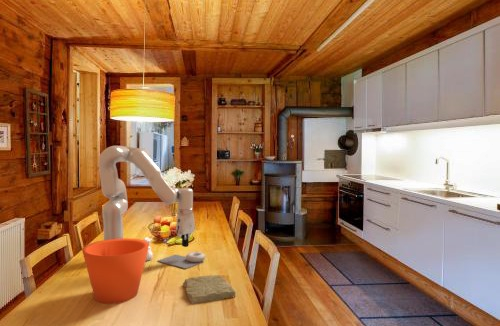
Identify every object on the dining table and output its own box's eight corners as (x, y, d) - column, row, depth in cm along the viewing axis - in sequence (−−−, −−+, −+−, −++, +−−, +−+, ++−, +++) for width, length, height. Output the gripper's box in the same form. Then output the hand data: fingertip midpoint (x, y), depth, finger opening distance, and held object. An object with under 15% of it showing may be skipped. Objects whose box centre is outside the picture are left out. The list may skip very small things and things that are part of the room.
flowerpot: (160, 294, 143) (161, 246, 142) (100, 315, 124) (100, 260, 123) (129, 278, 160) (129, 235, 159) (71, 295, 141) (71, 246, 140)
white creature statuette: (146, 255, 193) (146, 234, 193) (158, 258, 189) (158, 236, 189) (132, 260, 185) (133, 237, 184) (145, 263, 181) (145, 240, 180)
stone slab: (220, 280, 160) (220, 272, 160) (236, 298, 142) (236, 289, 142) (179, 286, 153) (179, 278, 153) (190, 305, 134) (190, 296, 134)
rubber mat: (185, 269, 173) (185, 268, 173) (157, 261, 184) (157, 260, 183) (203, 262, 184) (203, 261, 184) (175, 255, 194) (175, 254, 194)
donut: (183, 259, 187) (189, 264, 178) (183, 252, 187) (189, 257, 178) (200, 256, 192) (208, 261, 183) (200, 250, 192) (208, 254, 183)
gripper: (180, 214, 177) (180, 250, 178) (200, 210, 190) (200, 244, 190) (170, 213, 181) (169, 248, 182) (190, 209, 194) (189, 242, 194)
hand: (185, 246), depth 186 cm, fingers closed
